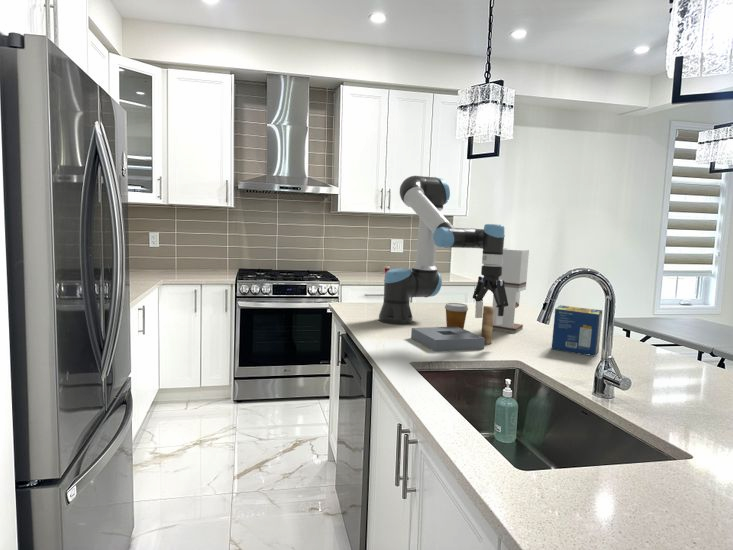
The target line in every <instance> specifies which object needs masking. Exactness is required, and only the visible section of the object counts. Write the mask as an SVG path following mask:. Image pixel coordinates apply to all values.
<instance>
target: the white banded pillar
mask: <svg viewBox="0 0 733 550" xmlns="http://www.w3.org/2000/svg"><path fill="white" fill-rule="evenodd" d="M529 255H530V249H523V250H522V249H508V248H506V247H505V248H504V247H503V264H502V265H501V267H502V275H501V276H499V280H504V287H505V291H506V296H507V301H508V306H506V307H504V314H503V322H502V325H495V316H496V306H497V303H496V300H495V298H494V295H492V305H491V306H492V307H494V317H493V330H492V331H498V332H504V333H509V334H517V333H519V332H521V331H522V330H523V328H524V324H520V323H515V316H516V315H515V314H516V309H517V308H519V307H520V301H521V292H523V291H525V290H527V280H528V267H529V258H530V257H529ZM496 289H497V288H496ZM504 303H505V302H504Z"/></svg>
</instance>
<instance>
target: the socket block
mask: <svg viewBox="0 0 733 550" xmlns="http://www.w3.org/2000/svg"><path fill="white" fill-rule="evenodd" d="M410 339H412V340H414V341H415V342H417V343H419V344H421V345H423V346H425V347H427V348H428V349H431V350H432V351H433V352H446V351H447V352H449V351H468V350H484V349H485V344H484V343H485V338H483V337H481V335H478V334H476V333H474V332H471V331H469V330H467V329H462V328H460V327H447V326H431V327H426V326H425V327H424V326H423V327H411V335H410Z"/></svg>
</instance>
